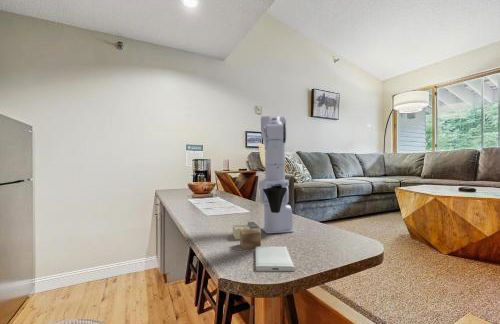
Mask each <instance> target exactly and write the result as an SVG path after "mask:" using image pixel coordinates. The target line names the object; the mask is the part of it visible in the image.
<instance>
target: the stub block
mask: <svg viewBox="0 0 500 324" xmlns="http://www.w3.org/2000/svg"><path fill="white" fill-rule="evenodd" d="M261 239H262V232H261V233H260V232H259V231H258V230H241V231H240V239H239V244H240V247H241V249H243V250H246V249H247V250H249V249H255V248H256V247H262V245H261V244H262V240H261Z"/></svg>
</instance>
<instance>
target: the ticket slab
mask: <svg viewBox="0 0 500 324" xmlns="http://www.w3.org/2000/svg"><path fill="white" fill-rule="evenodd" d="M241 230H258V231H259V232H260V233H261V234H262V229H261V226H259V225H258V224H257V223H256V222H255V221H247V224H238V225H237V224H236V225H233V226H232V235H233V237H234V239H235V240H240V231H241Z"/></svg>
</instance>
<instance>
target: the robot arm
mask: <svg viewBox="0 0 500 324" xmlns="http://www.w3.org/2000/svg"><path fill="white" fill-rule="evenodd" d="M286 117H287V116H286V115H270V116H269V115H268V116H267V115H265V116H264V115H262V116H261V117H260V132H261V133H260V134H261V135H260V136H261V139H262V140H263V144H264V151H265V152H264V159H265V160H264V166H265V168H264V174H265V176H264V178H263V180H259V181H258V189H260V190H259V198H260V199H259V201H260V203H261V204H263V212H264V213H263V219H264V220H263V226H260V228H261V231H262V230H263V232H265V233H266V234H278V233H279V234H280V233H293V232H294V229H293V210H292V207H291V205H290V204H288V203H289V201H290V199H289V197H290V192H289V191H290V190H289V186H290V179H286V148H285V147H286V146H285V145H286V142H287V135H288V133H287V118H286Z"/></svg>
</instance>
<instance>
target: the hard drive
mask: <svg viewBox="0 0 500 324" xmlns="http://www.w3.org/2000/svg"><path fill="white" fill-rule="evenodd" d="M254 251H255V271H256V272H296V270H295V269H296V267H295V264H294V262H293V260H292V258H291V255H290V253H289V249H288V248H287V247H286V246H261V247H256V248H254Z"/></svg>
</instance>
